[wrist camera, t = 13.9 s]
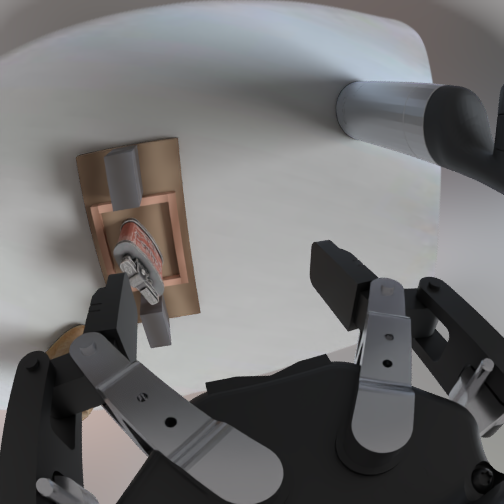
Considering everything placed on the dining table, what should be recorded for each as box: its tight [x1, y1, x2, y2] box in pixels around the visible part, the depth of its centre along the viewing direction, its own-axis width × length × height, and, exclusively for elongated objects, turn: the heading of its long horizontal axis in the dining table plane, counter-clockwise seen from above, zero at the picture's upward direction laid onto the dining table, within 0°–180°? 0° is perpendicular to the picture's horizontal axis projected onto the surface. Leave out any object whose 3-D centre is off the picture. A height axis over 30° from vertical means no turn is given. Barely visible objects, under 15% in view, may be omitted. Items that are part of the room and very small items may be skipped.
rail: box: [76, 138, 200, 348], centre depth 37 cm, size 13×26×8 cm, turn 1°
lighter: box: [113, 218, 164, 305], centre depth 34 cm, size 8×3×10 cm, turn 24°
